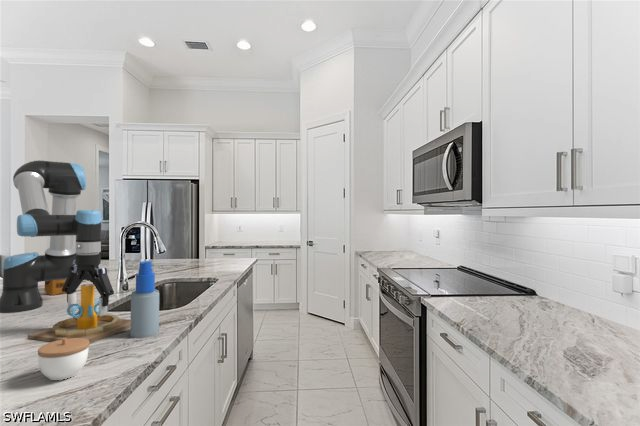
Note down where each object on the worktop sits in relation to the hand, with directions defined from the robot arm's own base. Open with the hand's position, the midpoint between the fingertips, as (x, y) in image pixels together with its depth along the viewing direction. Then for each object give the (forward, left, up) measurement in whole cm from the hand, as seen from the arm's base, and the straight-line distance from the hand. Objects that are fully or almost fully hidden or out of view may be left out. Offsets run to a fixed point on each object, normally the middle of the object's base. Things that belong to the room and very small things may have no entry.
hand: (87, 313), depth 124 cm
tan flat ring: (0, 0, -5) cm, 5 cm away
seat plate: (0, 0, -6) cm, 6 cm away
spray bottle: (+21, +3, -6) cm, 22 cm away
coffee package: (-64, +42, -6) cm, 77 cm away
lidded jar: (+24, -29, -6) cm, 38 cm away
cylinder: (0, 0, -5) cm, 5 cm away
